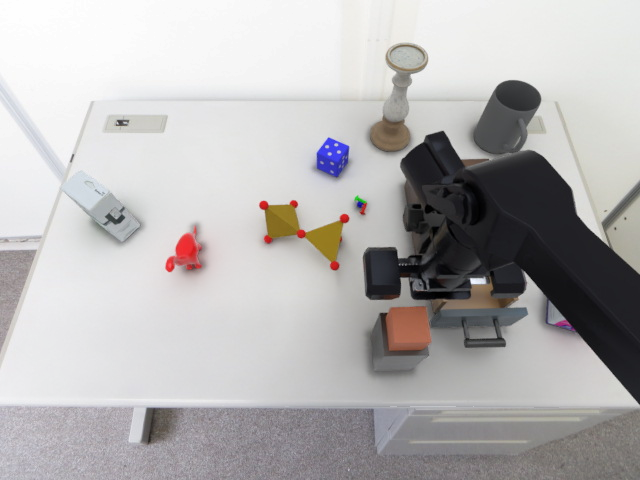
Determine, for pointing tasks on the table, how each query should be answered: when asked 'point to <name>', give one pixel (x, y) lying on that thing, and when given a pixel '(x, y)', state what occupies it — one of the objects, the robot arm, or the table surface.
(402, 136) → the candle holder
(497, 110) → the mug
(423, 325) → the block
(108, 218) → the ink box
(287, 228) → the molecule model
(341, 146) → the die
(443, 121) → the table surface
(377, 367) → the pedestal
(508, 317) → the drawer
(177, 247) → the dinosaur
